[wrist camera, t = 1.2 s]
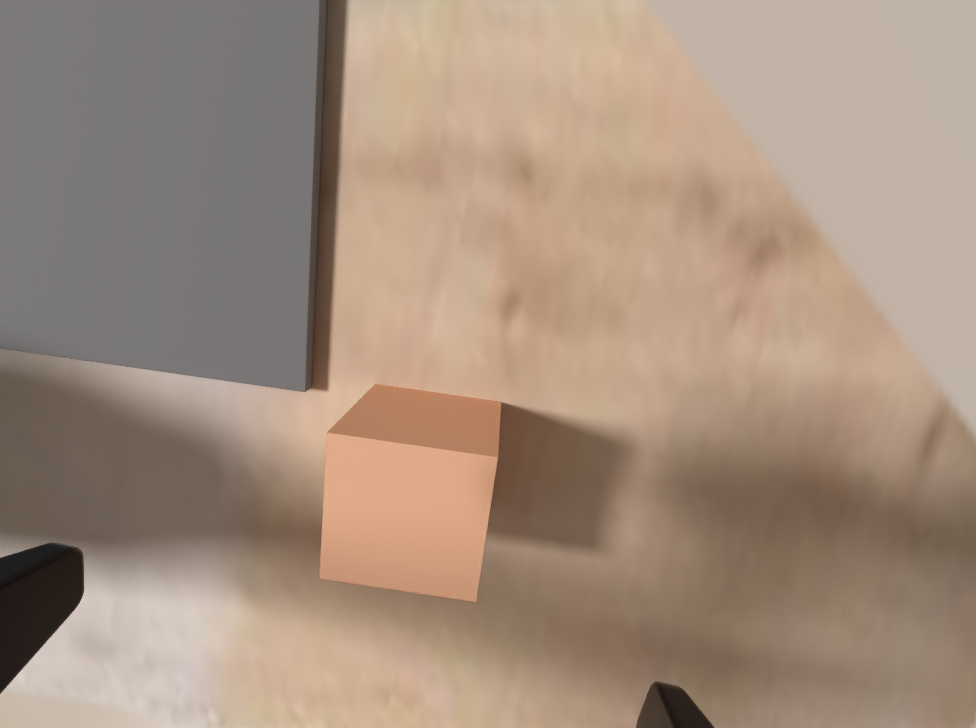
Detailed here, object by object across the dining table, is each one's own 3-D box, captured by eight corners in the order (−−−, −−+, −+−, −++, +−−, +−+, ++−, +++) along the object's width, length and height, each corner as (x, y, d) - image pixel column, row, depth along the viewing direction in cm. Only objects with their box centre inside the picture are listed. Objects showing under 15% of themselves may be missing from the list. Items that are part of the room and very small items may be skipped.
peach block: (367, 496, 19) (319, 578, 15) (375, 383, 18) (326, 432, 13) (484, 513, 19) (475, 602, 15) (501, 401, 18) (498, 457, 13)
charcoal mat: (-35, 337, 18) (-53, 340, 18) (-98, -83, 15) (-122, -97, 14) (311, 387, 18) (304, 392, 18) (328, -28, 15) (320, -39, 14)
